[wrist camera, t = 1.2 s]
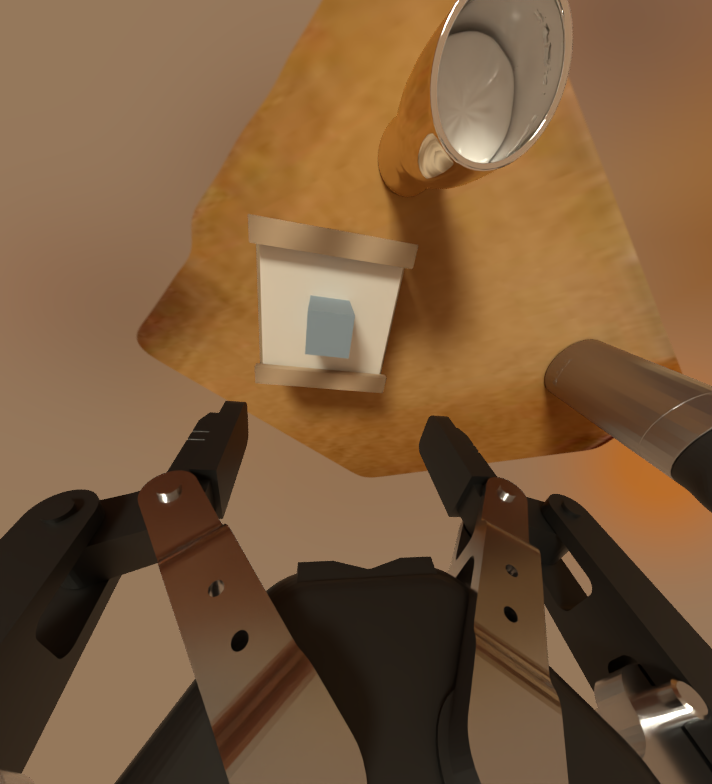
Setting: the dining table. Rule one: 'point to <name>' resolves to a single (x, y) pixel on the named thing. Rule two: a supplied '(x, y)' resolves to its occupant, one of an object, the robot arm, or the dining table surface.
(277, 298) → the cover plate
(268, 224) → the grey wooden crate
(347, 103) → the dining table surface
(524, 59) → the beer glass
